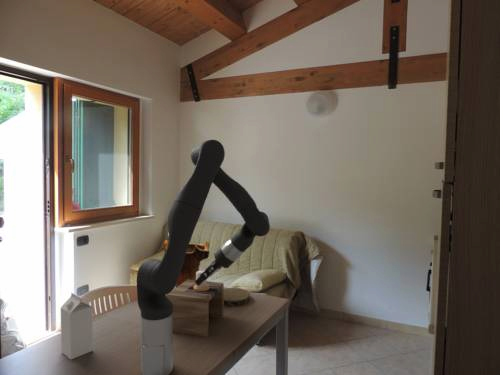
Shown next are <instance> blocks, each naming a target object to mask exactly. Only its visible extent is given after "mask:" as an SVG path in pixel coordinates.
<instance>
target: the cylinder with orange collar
mask: <svg viewBox="0 0 500 375" xmlns="http://www.w3.org/2000/svg"><path fill="white" fill-rule="evenodd" d="M204 271H205V270H199V271H197V272H196V280H197V279H198V278H199V277H200V274H202V273H203V272H204ZM204 275H205V276H206V277H207V274H206V273H204ZM207 280H208V278H207V279H206V280H204V281H203V282H202V283H201V284H200V285H199V286H198V285H197V284H196V285H194V290H195V291H198V292H203V291H207V290H209V285H207Z"/></svg>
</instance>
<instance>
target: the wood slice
mask: <svg viewBox="0 0 500 375" xmlns="http://www.w3.org/2000/svg"><path fill="white" fill-rule="evenodd" d="M250 300H251V295H250V291H248V290H247V289H244V288H241V287H228V288H227V287H226V288H224V306H225V307H239V306H244V305H246V304H248V303H249V302H250Z"/></svg>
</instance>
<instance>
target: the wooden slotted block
mask: <svg viewBox="0 0 500 375" xmlns="http://www.w3.org/2000/svg"><path fill="white" fill-rule="evenodd" d="M195 281H196V280H188V279H187V280H186V281H185V282H183V283H182V284H180V285H179V286H178V287H176V286H175V287H174V289H173V290H172V291H171V292H170V293H169V294H166V296H167V298H168V299H169V300H170V301H171V302H172V304H173V334H174V333H176V334H183V335H188V336H196V337H203V338H207V337H209V335H210V334H209V333H210V332H209V326H210V325H209V323H210V322H209V317H211V318H219V319H220V318H221V319H223V318H224V289H225V288H224V282H220V281H219V282H217V281H207V285H209V290H207V291H203V292H198V291H195V290H194V285H196V283H195Z"/></svg>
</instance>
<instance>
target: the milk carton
mask: <svg viewBox="0 0 500 375" xmlns="http://www.w3.org/2000/svg"><path fill="white" fill-rule="evenodd" d="M93 322H94V321H93V306H92V305H90V304H88V303H86V302H84V301H82V297H81V296H80V295H77V294H75V293H73V292H71V295H70V297H69V298H68V299H67V300H66V301H65V302H64V303H63V304H62V305H61V307H60V334H61V335H60V340H61V341H60V342H61V353H62V354H63V355H64V356H66V357H67V358H68V359H69V360H71V361H72V360H74V359H76V358H79V357H81V356H84V355H87V354H89V353H91V352H93V351H94V341H93V340H94V338H93V337H94V336H93V335H94V332H93V331H94V329H93Z"/></svg>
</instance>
